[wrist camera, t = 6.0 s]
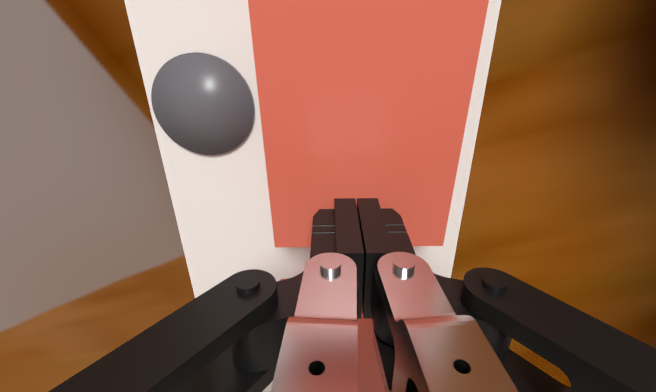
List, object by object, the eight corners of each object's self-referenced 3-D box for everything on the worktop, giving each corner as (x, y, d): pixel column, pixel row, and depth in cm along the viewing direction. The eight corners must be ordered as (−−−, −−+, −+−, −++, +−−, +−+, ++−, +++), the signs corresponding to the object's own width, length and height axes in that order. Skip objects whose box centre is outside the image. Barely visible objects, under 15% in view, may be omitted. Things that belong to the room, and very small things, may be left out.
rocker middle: (475, -59, 9) (501, -69, 8) (431, 221, 14) (442, 245, 12) (254, -55, 9) (240, -65, 8) (280, 222, 14) (274, 247, 12)
